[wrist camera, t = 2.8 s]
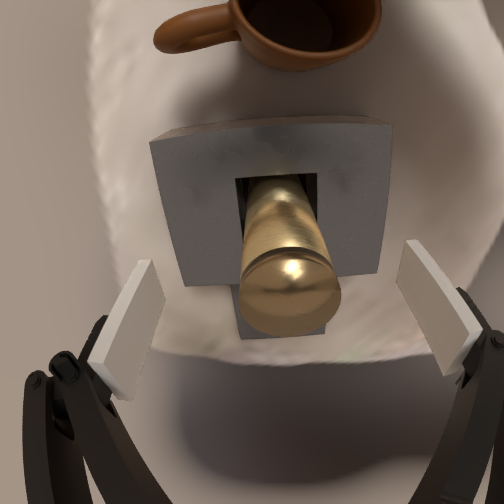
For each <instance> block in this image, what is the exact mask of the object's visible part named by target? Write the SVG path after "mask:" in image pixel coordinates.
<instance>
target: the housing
mask: <svg viewBox="0 0 504 504" xmlns="http://www.w3.org/2000/svg"><path fill="white" fill-rule="evenodd" d="M149 144H150V150H151V155H152V159H153V164H154V169H155V174H156V178H157V183H158V187H159V191H160V196H161V200H162V204H163V208H164V212H165V216H166V220H167V224H168V228H169V232H170V236H171V239H172V243H173V247H174V250H175V254H176V258H177V261H178V265H179V268H180V272H181V275H182V278H183V282H184V285H185V287H188V286H209V285H228V284H240V275H241V264H242V253H243V242H244V231H245V221H246V211H245V203H244V194H243V186H242V178H243V177H255V176H268V175H282V174H300V173H306V180H307V198H308V201H309V203H310V206H311V208H312V211H313V214H314V216H315V219H316V221H317V224H318V226H319V229H320V232H321V234H322V237H323V240H324V243H325V245H326V248H327V251H328V254H329V256H330V259H331V262H332V265H333V268H334V271H335V273H336V276H337V277H341V276H352V275H363V274H373V273H377V269H378V264H379V258H380V252H381V246H382V240H383V233H384V226H385V219H386V211H387V202H388V192H389V181H390V168H391V152H392V125H390V124H387V123H384V122H381V121H379V120H376V119H373V118H370V117H367V116H334V115H320V116H286V117H269V118H256V119H245V120H235V121H226V122H218V123H211V124H204V125H197V126H191V127H185V128H179V129H174V130H170V131H168V132H166V133H164V134H162V135H161V136H159V137H157V138H155V139H153V140H152V141H150V142H149Z"/></svg>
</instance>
